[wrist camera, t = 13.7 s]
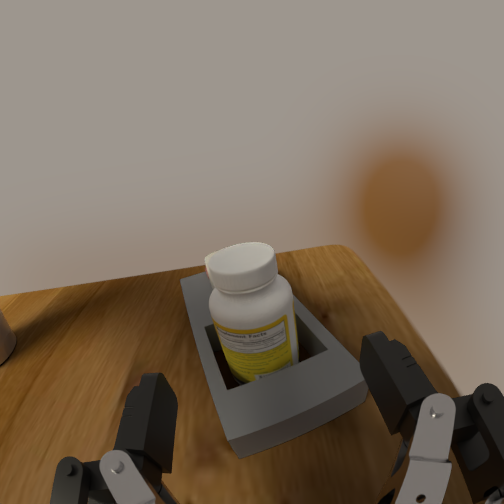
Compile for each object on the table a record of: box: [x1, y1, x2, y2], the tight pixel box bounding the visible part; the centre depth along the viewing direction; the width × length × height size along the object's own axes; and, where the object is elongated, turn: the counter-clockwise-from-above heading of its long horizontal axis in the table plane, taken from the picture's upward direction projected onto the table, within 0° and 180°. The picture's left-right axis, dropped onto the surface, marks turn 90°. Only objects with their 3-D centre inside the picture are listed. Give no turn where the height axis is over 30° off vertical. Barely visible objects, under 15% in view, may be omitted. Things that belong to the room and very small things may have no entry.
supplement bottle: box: [208, 242, 299, 385], centre depth 18 cm, size 5×5×10 cm
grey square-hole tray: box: [180, 250, 369, 459], centre depth 21 cm, size 9×20×6 cm, turn 19°
